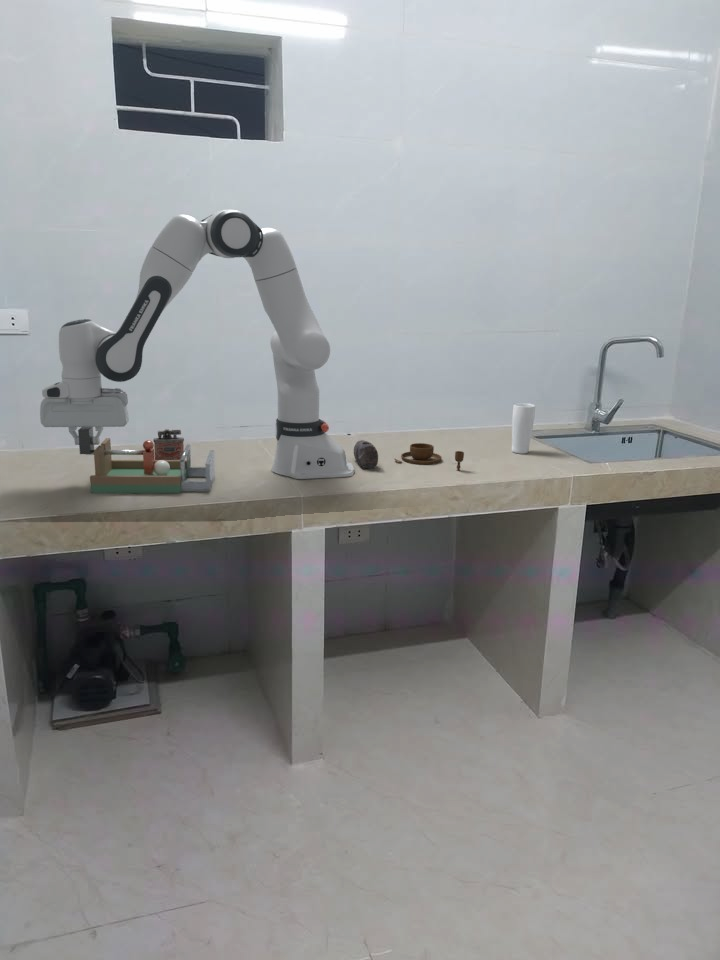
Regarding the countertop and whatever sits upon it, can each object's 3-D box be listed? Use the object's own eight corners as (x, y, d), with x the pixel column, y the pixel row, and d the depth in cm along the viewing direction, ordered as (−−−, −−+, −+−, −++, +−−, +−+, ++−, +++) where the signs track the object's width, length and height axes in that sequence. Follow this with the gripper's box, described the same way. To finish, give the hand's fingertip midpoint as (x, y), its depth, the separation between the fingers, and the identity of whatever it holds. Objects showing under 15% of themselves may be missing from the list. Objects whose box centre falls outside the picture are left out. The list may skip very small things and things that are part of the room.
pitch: (187, 474, 196) (186, 437, 193) (180, 492, 180) (179, 452, 178) (105, 474, 193) (103, 437, 190) (91, 492, 178) (88, 452, 175)
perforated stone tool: (349, 458, 219) (349, 434, 217) (366, 457, 220) (367, 434, 218) (360, 471, 205) (361, 447, 203) (379, 471, 206) (380, 446, 204)
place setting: (443, 456, 227) (444, 437, 226) (466, 473, 209) (468, 453, 207) (388, 457, 223) (388, 438, 222) (406, 475, 205) (407, 454, 203)
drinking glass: (532, 455, 229) (537, 407, 225) (510, 454, 230) (515, 406, 225) (528, 450, 236) (533, 403, 232) (507, 449, 236) (511, 402, 232)
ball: (171, 473, 189) (170, 458, 188) (168, 478, 185) (168, 462, 184) (154, 473, 188) (154, 458, 187) (152, 477, 185) (152, 462, 184)
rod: (156, 469, 188) (154, 427, 185) (153, 474, 184) (151, 430, 181) (85, 469, 186) (82, 426, 183) (81, 473, 182) (78, 430, 179)
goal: (214, 476, 195) (213, 444, 193) (210, 491, 182) (209, 457, 180) (187, 475, 195) (186, 444, 192) (181, 491, 181) (179, 457, 179)
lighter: (154, 467, 202) (153, 431, 199) (154, 464, 205) (152, 428, 202) (185, 466, 204) (183, 430, 201) (184, 463, 207) (183, 427, 204)
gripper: (129, 386, 183) (133, 440, 187) (43, 386, 181) (48, 441, 185) (124, 390, 177) (128, 446, 181) (34, 390, 175) (41, 447, 179)
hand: (87, 444), depth 183 cm, fingers open, 3 cm apart
